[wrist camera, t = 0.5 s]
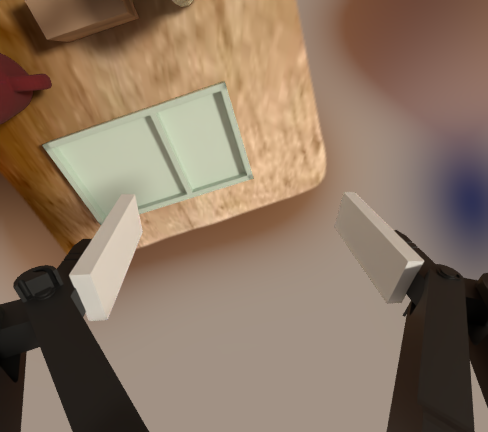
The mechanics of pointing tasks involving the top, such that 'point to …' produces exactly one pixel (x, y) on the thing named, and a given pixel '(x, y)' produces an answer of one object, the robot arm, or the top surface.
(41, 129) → the top surface
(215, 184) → the jig
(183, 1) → the toy
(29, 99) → the mug
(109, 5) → the brown rectangular block
